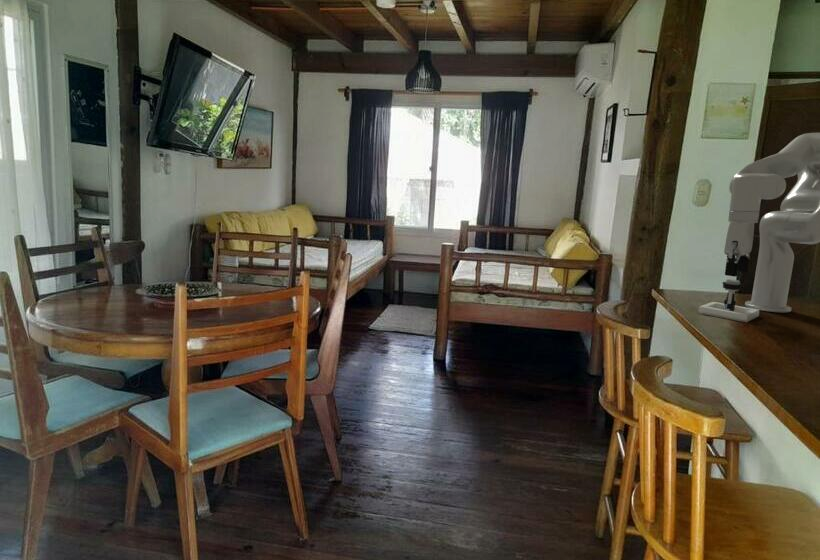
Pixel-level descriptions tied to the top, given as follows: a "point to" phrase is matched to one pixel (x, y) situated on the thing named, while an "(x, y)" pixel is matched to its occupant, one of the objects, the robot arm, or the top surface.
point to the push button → (731, 293)
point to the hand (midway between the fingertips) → (736, 273)
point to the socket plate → (729, 312)
